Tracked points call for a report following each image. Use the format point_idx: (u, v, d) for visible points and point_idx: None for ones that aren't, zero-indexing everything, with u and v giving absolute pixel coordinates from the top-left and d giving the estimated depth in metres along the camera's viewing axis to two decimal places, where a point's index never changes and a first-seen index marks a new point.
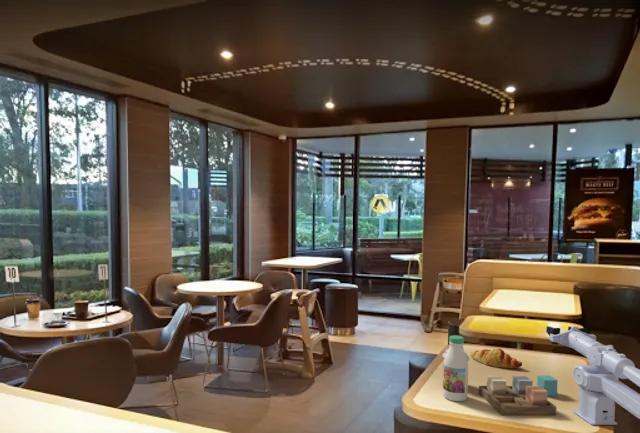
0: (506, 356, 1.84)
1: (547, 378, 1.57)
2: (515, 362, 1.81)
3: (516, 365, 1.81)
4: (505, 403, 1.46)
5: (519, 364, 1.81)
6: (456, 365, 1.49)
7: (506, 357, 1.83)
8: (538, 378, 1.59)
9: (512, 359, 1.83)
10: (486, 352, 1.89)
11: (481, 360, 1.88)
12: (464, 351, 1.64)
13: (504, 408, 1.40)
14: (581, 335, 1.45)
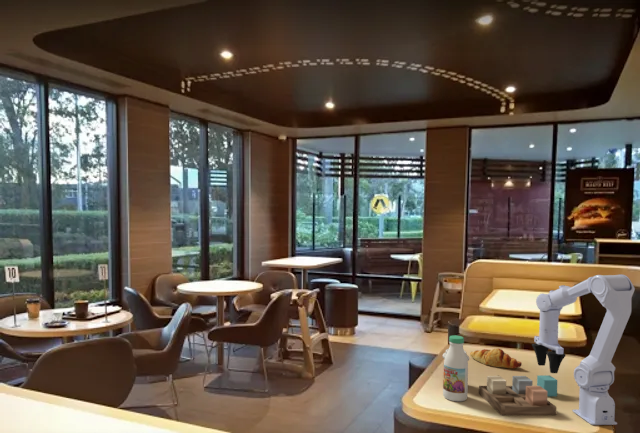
0: (506, 356, 1.83)
1: (547, 378, 1.57)
2: (514, 362, 1.81)
3: (515, 365, 1.81)
4: (505, 403, 1.46)
5: (518, 364, 1.81)
6: (456, 365, 1.49)
7: (506, 357, 1.83)
8: (538, 378, 1.59)
9: (512, 359, 1.83)
10: (486, 352, 1.89)
11: (481, 360, 1.88)
12: (464, 351, 1.64)
13: (504, 408, 1.40)
14: (542, 329, 1.57)
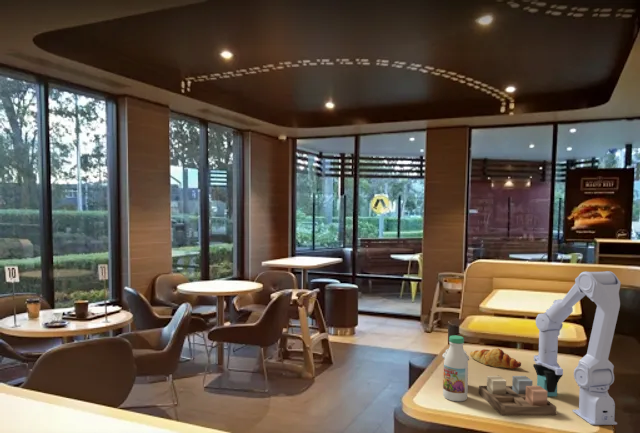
0: (505, 356, 1.83)
1: None
2: (514, 362, 1.81)
3: (515, 365, 1.81)
4: (505, 403, 1.46)
5: (518, 364, 1.81)
6: (456, 365, 1.49)
7: (505, 357, 1.83)
8: (538, 378, 1.59)
9: (511, 359, 1.83)
10: (485, 352, 1.89)
11: (480, 360, 1.88)
12: (464, 351, 1.64)
13: (504, 408, 1.40)
14: (541, 349, 1.57)
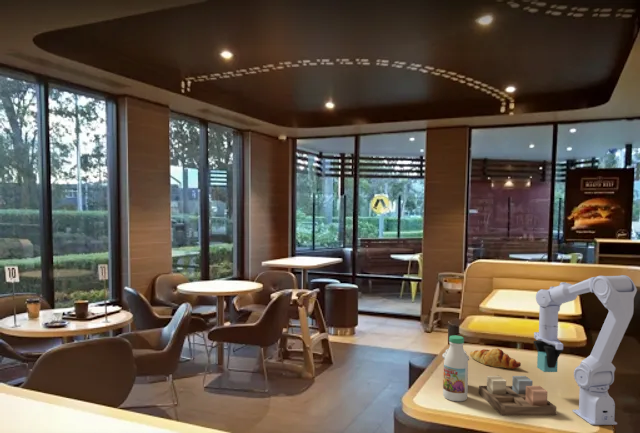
0: (505, 356, 1.83)
1: None
2: (514, 362, 1.81)
3: (514, 365, 1.81)
4: (505, 403, 1.46)
5: (518, 364, 1.80)
6: (456, 365, 1.49)
7: (505, 357, 1.83)
8: (538, 354, 1.59)
9: (511, 359, 1.82)
10: (485, 352, 1.89)
11: (480, 360, 1.88)
12: (464, 351, 1.64)
13: (504, 408, 1.40)
14: (541, 325, 1.57)
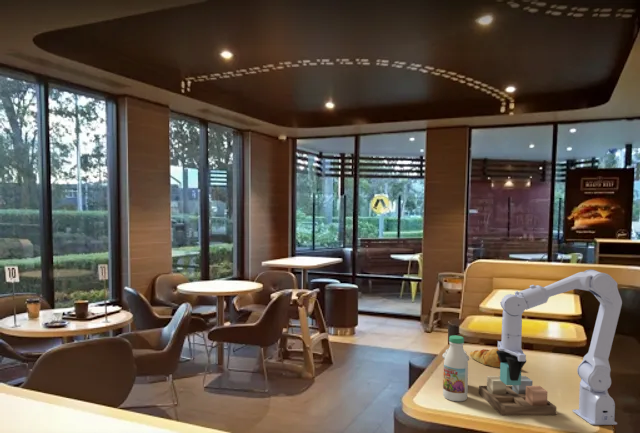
0: None
1: None
2: None
3: None
4: (505, 403, 1.46)
5: None
6: (456, 365, 1.49)
7: None
8: (501, 365, 1.46)
9: None
10: (485, 352, 1.89)
11: (480, 360, 1.88)
12: (464, 351, 1.64)
13: (504, 408, 1.40)
14: (504, 334, 1.43)
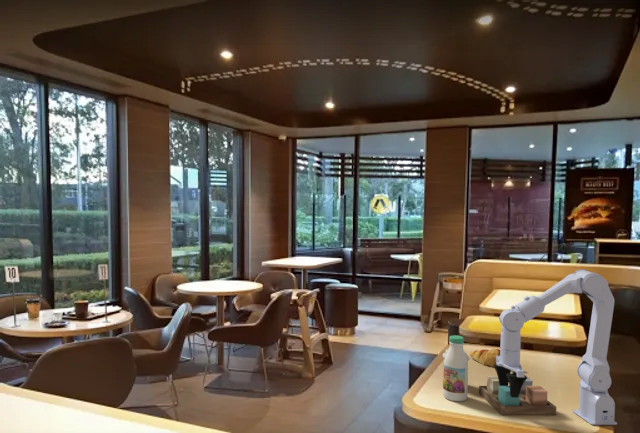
0: None
1: (509, 389, 1.44)
2: None
3: None
4: None
5: None
6: (456, 365, 1.49)
7: None
8: (499, 389, 1.45)
9: None
10: (484, 352, 1.89)
11: (479, 360, 1.88)
12: (464, 351, 1.64)
13: (504, 408, 1.40)
14: (502, 349, 1.43)
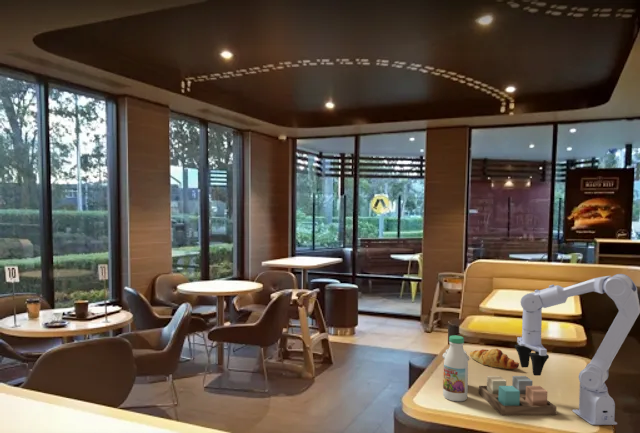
0: (503, 357, 1.83)
1: (509, 389, 1.44)
2: (512, 363, 1.80)
3: (512, 366, 1.80)
4: None
5: (516, 365, 1.80)
6: (456, 365, 1.49)
7: (503, 358, 1.82)
8: (499, 389, 1.45)
9: (509, 360, 1.82)
10: (484, 352, 1.89)
11: (479, 360, 1.88)
12: (464, 351, 1.64)
13: (504, 408, 1.40)
14: (524, 330, 1.51)
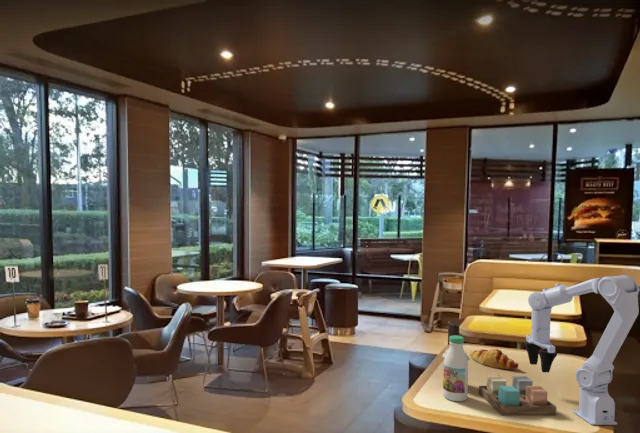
0: (502, 357, 1.83)
1: (509, 389, 1.44)
2: (511, 363, 1.80)
3: (512, 366, 1.80)
4: None
5: (515, 365, 1.79)
6: (456, 365, 1.49)
7: (502, 358, 1.82)
8: (499, 389, 1.45)
9: (508, 360, 1.82)
10: (484, 352, 1.89)
11: (478, 360, 1.88)
12: (464, 351, 1.64)
13: (504, 408, 1.40)
14: (533, 328, 1.54)
